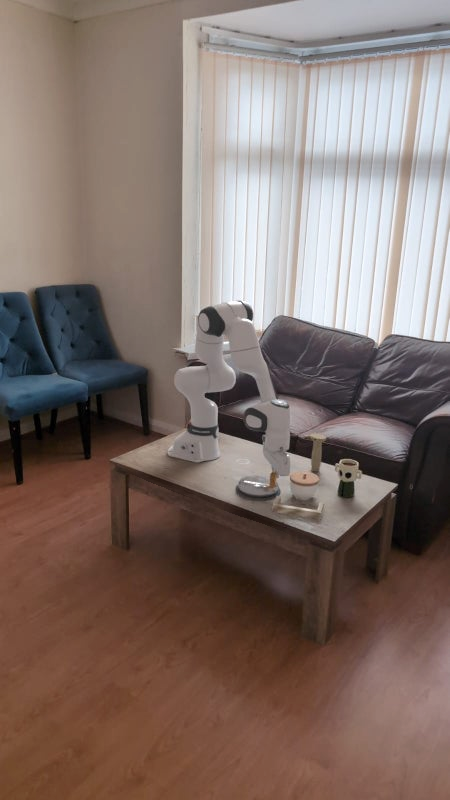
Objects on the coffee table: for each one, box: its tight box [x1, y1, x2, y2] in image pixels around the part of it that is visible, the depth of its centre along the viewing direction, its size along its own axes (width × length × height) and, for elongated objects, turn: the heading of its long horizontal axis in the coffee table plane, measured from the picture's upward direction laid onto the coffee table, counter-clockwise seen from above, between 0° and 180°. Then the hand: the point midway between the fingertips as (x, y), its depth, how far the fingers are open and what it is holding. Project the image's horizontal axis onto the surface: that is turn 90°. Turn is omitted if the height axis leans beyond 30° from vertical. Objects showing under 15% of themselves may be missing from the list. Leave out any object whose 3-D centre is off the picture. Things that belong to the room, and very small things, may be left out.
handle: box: [309, 433, 327, 473], centre depth 249 cm, size 5×6×15 cm
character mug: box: [334, 458, 363, 498], centre depth 230 cm, size 11×7×13 cm, turn 51°
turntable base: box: [235, 484, 282, 502], centre depth 232 cm, size 17×17×1 cm
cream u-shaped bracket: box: [271, 495, 325, 520], centre depth 218 cm, size 17×8×2 cm, turn 74°
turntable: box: [237, 471, 279, 498], centre depth 231 cm, size 15×15×7 cm
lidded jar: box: [289, 471, 320, 501], centre depth 228 cm, size 11×11×9 cm
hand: (275, 477), depth 232 cm, fingers closed
